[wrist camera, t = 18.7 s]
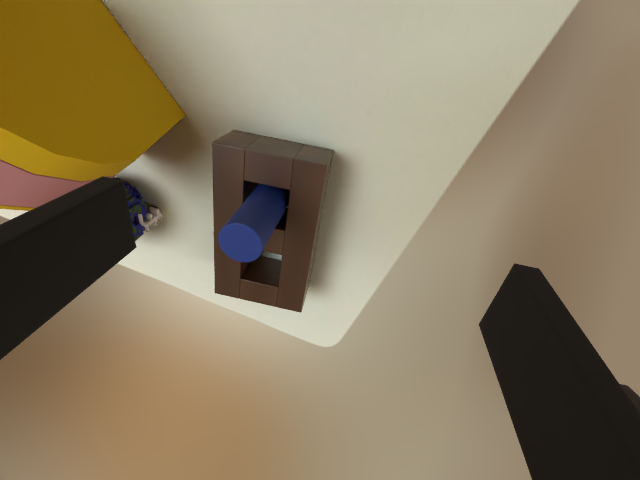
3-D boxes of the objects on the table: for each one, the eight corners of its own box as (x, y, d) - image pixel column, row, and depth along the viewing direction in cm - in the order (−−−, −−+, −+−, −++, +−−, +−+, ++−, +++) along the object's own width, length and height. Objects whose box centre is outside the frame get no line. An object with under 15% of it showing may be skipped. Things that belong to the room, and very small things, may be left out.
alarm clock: (34, 36, 31) (-309, 26, 16) (82, -24, 28) (-285, -112, 12) (146, 168, 37) (-24, 259, 21) (197, 130, 34) (41, 204, 18)
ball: (155, 175, 37) (108, 202, 30) (165, 233, 41) (125, 268, 34) (89, 165, 38) (29, 189, 31) (105, 223, 41) (55, 255, 35)
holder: (333, 150, 33) (327, 165, 28) (308, 285, 42) (301, 312, 38) (233, 129, 33) (211, 142, 29) (230, 268, 42) (214, 293, 38)
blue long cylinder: (297, 174, 34) (264, 228, 24) (293, 205, 36) (261, 267, 26) (264, 167, 35) (217, 218, 24) (262, 198, 36) (217, 257, 26)
